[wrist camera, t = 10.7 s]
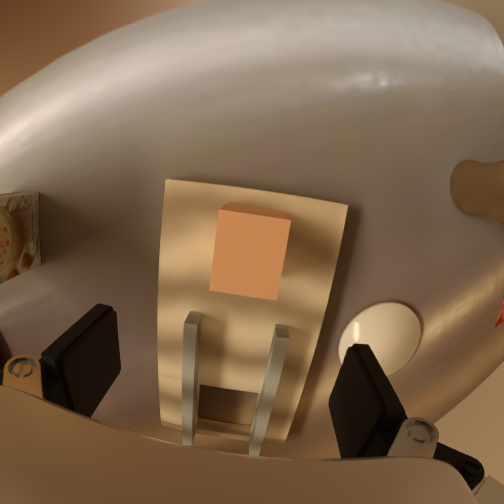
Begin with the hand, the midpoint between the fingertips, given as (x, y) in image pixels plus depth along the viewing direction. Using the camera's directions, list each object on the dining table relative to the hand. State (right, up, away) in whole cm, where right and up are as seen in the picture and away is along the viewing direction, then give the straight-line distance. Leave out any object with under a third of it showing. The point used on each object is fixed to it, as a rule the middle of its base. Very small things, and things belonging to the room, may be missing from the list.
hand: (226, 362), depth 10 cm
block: (+1, +5, +15) cm, 16 cm away
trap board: (-1, -5, +20) cm, 21 cm away
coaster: (+15, -6, +20) cm, 26 cm away
